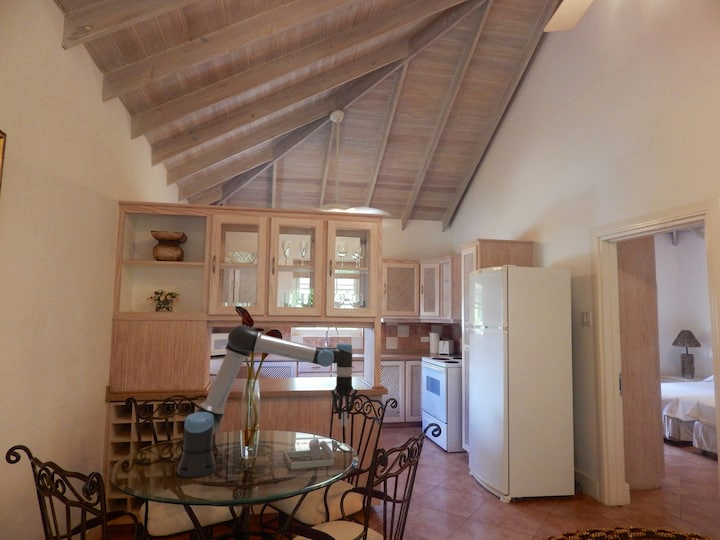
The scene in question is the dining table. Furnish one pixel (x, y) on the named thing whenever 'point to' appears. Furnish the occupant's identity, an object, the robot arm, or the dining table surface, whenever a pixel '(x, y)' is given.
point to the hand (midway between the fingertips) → (343, 426)
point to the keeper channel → (308, 463)
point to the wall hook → (316, 450)
